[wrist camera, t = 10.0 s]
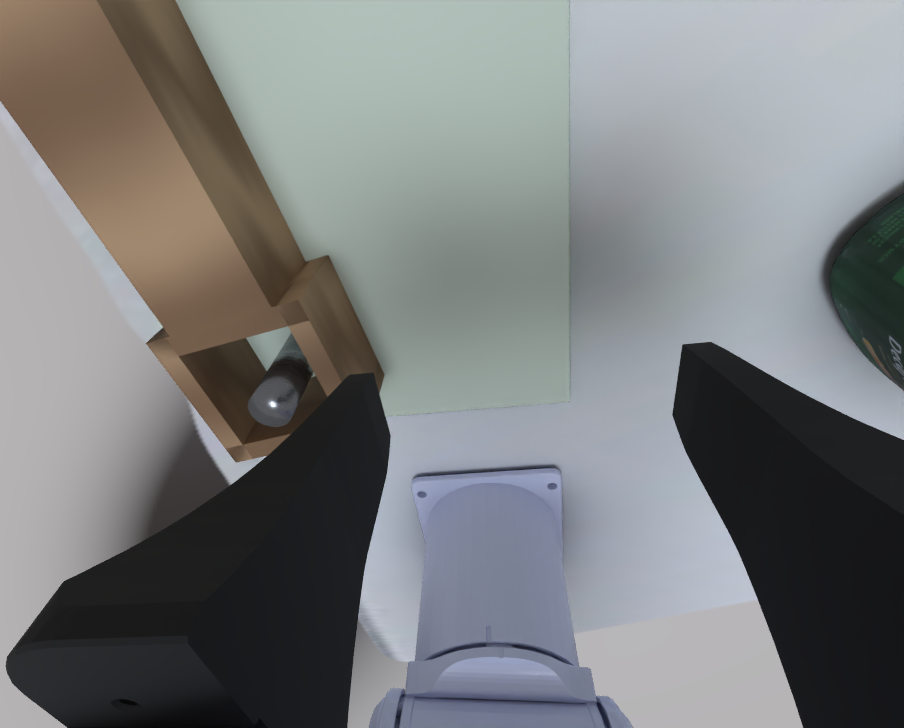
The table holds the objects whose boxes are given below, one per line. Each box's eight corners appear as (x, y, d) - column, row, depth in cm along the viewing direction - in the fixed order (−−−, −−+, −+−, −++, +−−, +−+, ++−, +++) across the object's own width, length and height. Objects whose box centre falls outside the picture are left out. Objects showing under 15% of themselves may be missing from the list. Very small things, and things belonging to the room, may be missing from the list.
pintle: (329, 356, 22) (297, 425, 18) (295, 359, 22) (256, 428, 18) (319, 325, 21) (284, 390, 17) (284, 329, 21) (241, 394, 17)
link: (384, 374, 23) (369, 433, 19) (269, 402, 24) (235, 462, 20) (85, -263, 12) (-61, -377, 9) (-93, -157, 13) (-282, -223, 10)
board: (568, 395, 23) (569, 402, 23) (218, 424, 25) (214, 430, 25) (562, -812, 9) (566, -853, 8) (-271, -531, 11) (-302, -555, 10)
